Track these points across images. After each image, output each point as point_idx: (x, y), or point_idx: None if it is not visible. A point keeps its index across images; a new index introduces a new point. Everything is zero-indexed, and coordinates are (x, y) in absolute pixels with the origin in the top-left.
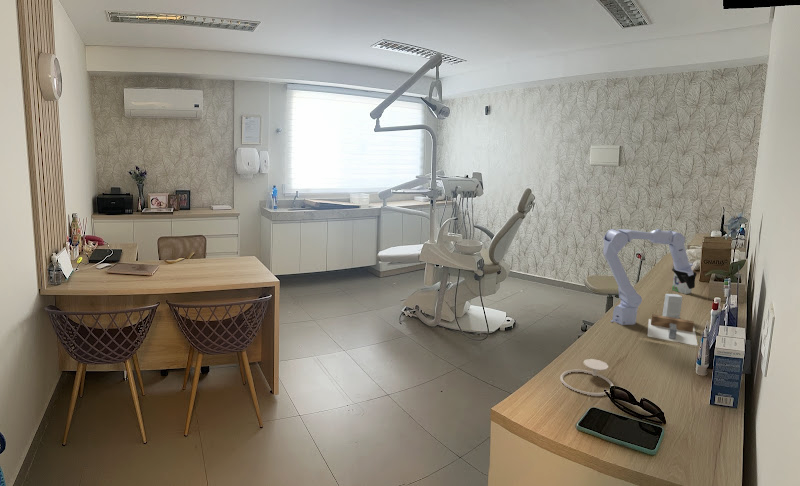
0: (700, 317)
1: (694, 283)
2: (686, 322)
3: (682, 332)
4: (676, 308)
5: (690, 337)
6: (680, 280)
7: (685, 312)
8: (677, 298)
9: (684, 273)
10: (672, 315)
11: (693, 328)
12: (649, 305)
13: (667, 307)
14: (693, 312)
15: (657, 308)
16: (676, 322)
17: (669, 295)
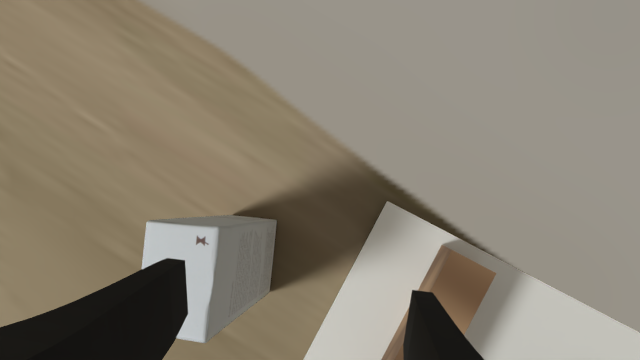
0: (203, 55)
1: (459, 332)
2: (475, 311)
3: (492, 332)
4: (250, 253)
5: (572, 331)
6: (165, 351)
7: (131, 96)
8: (221, 266)
9: (86, 344)
10: (263, 265)
11: (416, 221)
12: (31, 244)
13: (240, 314)
14: (129, 50)
15: (76, 224)
16: None
17: (185, 327)
